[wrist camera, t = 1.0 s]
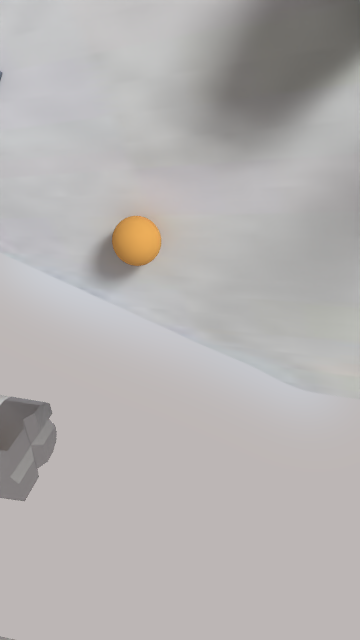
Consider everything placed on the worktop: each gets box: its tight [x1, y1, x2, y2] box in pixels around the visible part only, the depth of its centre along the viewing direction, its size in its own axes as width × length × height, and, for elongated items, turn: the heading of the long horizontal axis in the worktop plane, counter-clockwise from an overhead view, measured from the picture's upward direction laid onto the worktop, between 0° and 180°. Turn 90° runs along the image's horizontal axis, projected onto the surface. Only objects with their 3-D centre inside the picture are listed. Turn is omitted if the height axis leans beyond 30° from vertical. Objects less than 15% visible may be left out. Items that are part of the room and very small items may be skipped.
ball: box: [112, 216, 161, 266], centre depth 39 cm, size 6×6×6 cm
